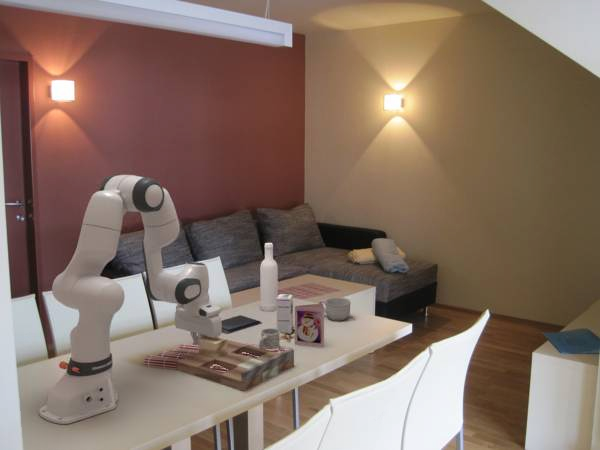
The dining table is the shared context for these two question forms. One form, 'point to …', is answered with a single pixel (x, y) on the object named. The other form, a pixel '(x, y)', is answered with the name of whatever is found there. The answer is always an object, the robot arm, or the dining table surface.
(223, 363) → the board
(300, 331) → the greeting card
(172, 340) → the dining table surface
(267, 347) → the mug
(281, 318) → the syrup box
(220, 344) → the birch block
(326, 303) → the teacup
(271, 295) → the bottle
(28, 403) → the dining table surface
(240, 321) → the wallet
